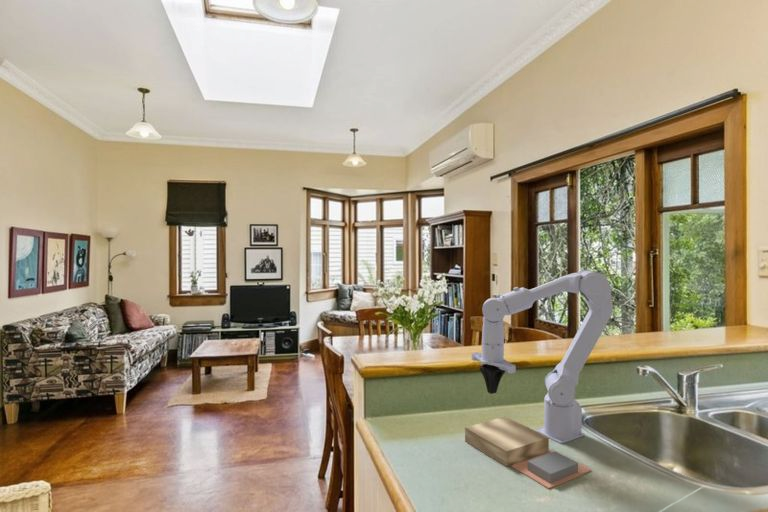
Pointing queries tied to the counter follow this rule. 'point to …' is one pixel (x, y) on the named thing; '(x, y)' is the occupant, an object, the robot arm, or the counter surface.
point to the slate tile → (552, 467)
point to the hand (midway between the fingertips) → (492, 392)
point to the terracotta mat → (524, 469)
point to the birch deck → (506, 440)
